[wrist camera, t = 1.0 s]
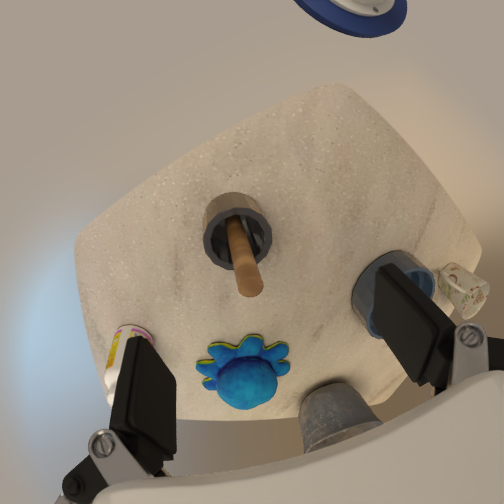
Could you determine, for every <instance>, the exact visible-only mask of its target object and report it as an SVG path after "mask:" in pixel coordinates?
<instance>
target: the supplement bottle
mask: <svg viewBox="0 0 504 504" xmlns="http://www.w3.org/2000/svg"><path fill="white" fill-rule="evenodd" d="M140 335H141V336H143V337H144V338H147V339H148V340H149V341H150V343H151V344H152V346H153V340H152V337H151V336H150V334H149V333H148V332H147V331H146V330H144V329H142V328H140V327H138V326H134V325H126V326H122V327H120V328H119V329H118V330H117V331H116V333H115V335H114V339H113V342H112V346H111V350H110V354H109V358H108V362H107V366H106V370H105V374H104V381H105V384H106V385H107V387H108V388H109V390H108V392H107V401H108V402H109V403H110V404H111V405H112V406H113V400H114V394H115V389H116V384H117V379H118V375H119V373H120V368H121V364H122V359H123V355H124V350H125V346H126V342H127V339H128V338H130V337H135V336H140Z"/></svg>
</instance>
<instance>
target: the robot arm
mask: <svg viewBox="0 0 504 504" xmlns="http://www.w3.org/2000/svg"><path fill="white" fill-rule="evenodd" d="M330 1H331V2H332V3H334V4H335V5H337V6H339V7H340V8H342V9H344V10H346V11H348V12H351V13H354V14H357V15H361V16H378V15H381V14H384V13H386V12H387V11H389V10H390V9H391V8H392V6H393V4H394V1H395V0H330ZM373 324H374V326H375V328H376V329H377V330H378V332H379V333H380V335H381V336H382V338H383V339H384V340H385V342H386V343H387V345H388V346H389V348H390V349H391V350H392V352H393V353H394V355H395V356H396V358H397V359H398V361H399V362H400V364H401V365H402V367H403V368H404V370H405V371H406V373H407V374H408V376H409V377H410V379H411V380H412V381H413V382H417V384H418V385H419V386H422V385H424V384H426V383H427V382H430V384H431V385H432V392H431V398H430V400H428V401H426V402H424V403H423V404H421V405H419V406H417V407H416V408H414V409H412V410H410V411H408V412H406V413H404V414H402V415H400V416H398V417H397V418H395V419H392V420H391V421H388V422H386V423H384V424H382V425H380V426H378V427H376V428H373V429H371V430H369V431H367V432H364V433H362V434H360V435H357V436H355V437H352V438H350V439H347V440H344V441H342V442H339V443H336V444H334V445H331V446H328V447H325V448H322V449H319V450H316V451H313V452H310V453H306V454H303V455H300V456H296V457H293V458H289V459H285V460H281V461H277V462H273V463H269V464H264V465H259V466H254V467H249V468H244V469H238V470H232V471H225V472H218V473H209V474H199V475H188V476H176V477H175V476H174V477H172V476H171V475H170V474H169V473H168V472H167V471H166V470H165V469H164V468H163V461H169V460H173V454H175V453H176V451H177V445H176V380H175V377H174V376H173V374H172V373H171V372H170V370H169V369H168V367H167V366H166V365H165V363H164V362H163V360H162V359H161V357H160V356H159V355H158V353H157V352H156V350H155V349H154V347H153V346H152V344H151V343H150V341H149V340H148V339H147V338H144V337H143V336H141V335H140V336H135V337H130V338H128V339H127V342H126V346H125V350H124V355H123V359H122V364H121V368H120V373H119V375H118V379H117V384H116V389H115V394H114V400H113V406H112V412H111V418H110V425H109V429H101V430H98V431H96V432H95V433H94V434H93V435H92V436H91V438H90V440H89V443H88V451H89V455H88V456H87V457H86V458H85V459H84V460H83V461H82V462H81V463H79V464H78V465H77V466H76V467H75V468H74V469H73V470H71V471H70V472H69V473H68V474H67V475H66V476H65V478H64V480H63V483H62V489H63V492H64V495H61V494H60V495H59V497H58V499H57V501H56V502H55V504H504V339H499V338H492V337H487V335H486V332H485V331H484V329H483V328H482V327H481V326H480V325H479V324H477V323H474V322H463V323H461V324H460V325H458V326H456V325H455V324H454V323H453V322H452V321H451V320H450V319H449V317H448V316H447V315H446V314H445V313H444V312H443V311H442V310H441V309H440V308H439V307H438V306H437V305H436V304H435V303H434V302H433V301H432V300H431V299H430V298H429V297H428V296H427V295H426V294H425V293H424V292H423V291H422V290H421V289H420V288H419V287H418V286H417V285H416V284H415V283H414V282H413V281H412V280H411V279H410V278H409V277H408V276H407V275H406V274H405V273H403V272H402V271H401V270H400V269H399V268H398V267H397V266H396V265H395V264H394V263H388V264H385V265H382V266H380V267H379V268H378V271H377V272H376V273H375V290H374V306H373Z"/></svg>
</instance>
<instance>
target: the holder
mask: <svg viewBox="0 0 504 504" xmlns="http://www.w3.org/2000/svg"><path fill="white" fill-rule="evenodd" d="M233 215H238V216H239V217H240V218H241V221H242V224H243V227H244V230H245V232H246V235H247V238H248V241H249V244H250V247H251V250H252V253H253V255H254V258H255V261H256V264H258V263H259V262H260V261H261V260H262V259H263V258H264V257H266V255H267V253H268V251H269V249H270V246H271V244H272V231H271V227H270V225H269V223H268V221H267V220H266V218H265V216H264V215H263V213H262V211H261V210H260V208H259V206H258V205H257V203H256V202H255V201H254V200H253V199H252V198H250V197H249V196H247V195H245V194H242V193H238V192H229V193H225V194H222V195H220V196H218V197H216V198H215V199H214V200H212V201H211V203H210V204H209V205H208V207H207V208H206V210H205V213H204V218H203V244H204V249H205V253H206V254H207V256H208V257H209V258H210V259H211V260H212V262H213V263H214V264H216V265H218V266H220V267H222V268H224V269H226V270H234V267H233V262H232V257H231V252H230V246H229V241H228V236H227V231H226V226H225V219H226V218H228V217H230V216H233Z"/></svg>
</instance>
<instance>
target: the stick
mask: <svg viewBox="0 0 504 504" xmlns="http://www.w3.org/2000/svg"><path fill="white" fill-rule="evenodd" d="M225 226H226V231H227V236H228V241H229V246H230V252H231V257H232V262H233V267H234V272H235V276H236V281H237V286H238V291H239V293H240V294H241V295H243V296H245V297H255V296H257V295H258V294H260V293H261V291H262V290H263V281H262V278H261V275H260V273H259V270H258V267H257V264H256V261H255V258H254V255H253V253H252V250H251V247H250V244H249V241H248V238H247V235H246V232H245V230H244V227H243V224H242V221H241V218H240V217H239V216H238V215H233V216H230V217H228V218H226V219H225Z"/></svg>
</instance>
